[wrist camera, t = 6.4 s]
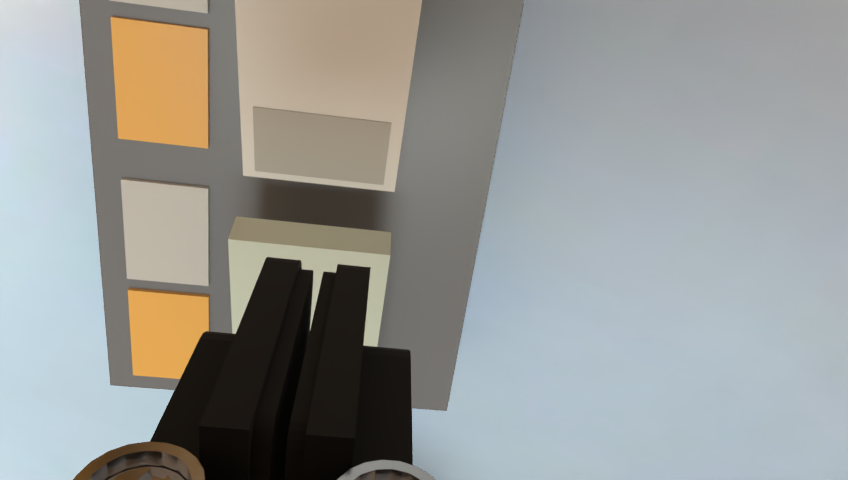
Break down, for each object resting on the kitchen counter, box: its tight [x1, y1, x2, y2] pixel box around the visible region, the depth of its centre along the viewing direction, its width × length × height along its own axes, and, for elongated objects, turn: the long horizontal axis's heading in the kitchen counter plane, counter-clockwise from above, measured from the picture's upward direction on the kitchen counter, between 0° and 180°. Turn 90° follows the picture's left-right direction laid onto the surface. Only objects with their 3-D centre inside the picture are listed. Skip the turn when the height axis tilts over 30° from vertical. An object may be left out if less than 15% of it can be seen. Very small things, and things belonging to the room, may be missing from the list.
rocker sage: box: [228, 216, 391, 347], centre depth 24 cm, size 5×9×1 cm, turn 172°
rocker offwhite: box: [235, 0, 422, 192], centre depth 20 cm, size 5×9×1 cm, turn 172°
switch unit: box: [79, 0, 524, 411], centre depth 25 cm, size 14×20×5 cm
